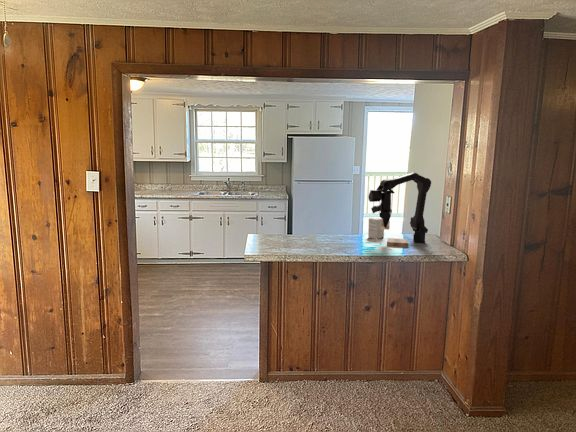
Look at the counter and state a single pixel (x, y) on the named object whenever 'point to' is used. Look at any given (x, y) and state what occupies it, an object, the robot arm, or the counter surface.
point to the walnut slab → (397, 242)
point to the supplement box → (375, 228)
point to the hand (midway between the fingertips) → (385, 226)
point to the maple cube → (383, 225)
